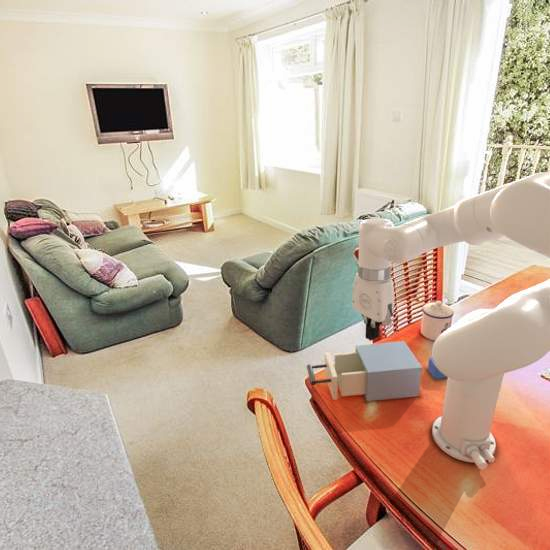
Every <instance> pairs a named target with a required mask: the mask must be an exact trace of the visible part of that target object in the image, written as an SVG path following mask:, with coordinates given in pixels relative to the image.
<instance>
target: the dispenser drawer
mask: <svg viewBox="0 0 550 550" xmlns="http://www.w3.org/2000/svg"><path fill="white" fill-rule="evenodd" d="M333 360H334V361H333ZM333 360H332V357H331V354H330V351H329V352H324V364H314V365H312V364H310V363H308V364H307V365H306V370H307V374H308V378H309V382H310V383H309V384H310V385H311V386H316V384H324V383H325V384H326V383H327V386H328V388H329V392H330V395H331V399H332V401H337V400H338V389H339V392H340V395H341V397H350V396H359V395H364V394H366V388H367V372H366V369H365V367H364V365H363V363H362V361H361V359H360V356H359V354H358V352H355V351H350V352H349V351H348V352H340V353H338V352H337V353H334V359H333ZM333 362H334V363H333ZM322 368H324V375H325V379H324V378H322V379H316V377H315V372H314V369H322Z"/></svg>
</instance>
